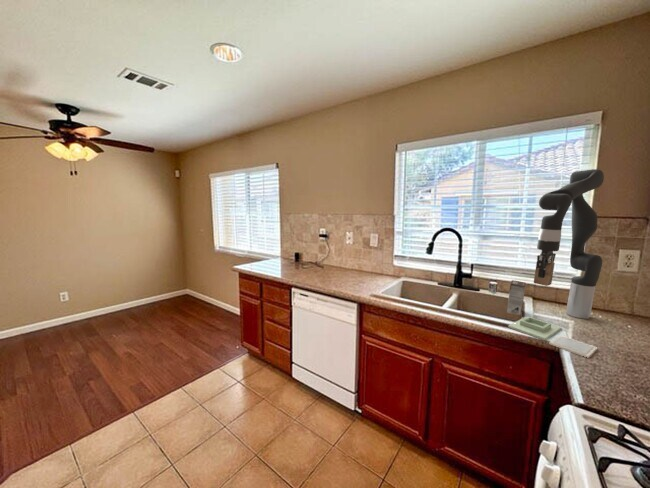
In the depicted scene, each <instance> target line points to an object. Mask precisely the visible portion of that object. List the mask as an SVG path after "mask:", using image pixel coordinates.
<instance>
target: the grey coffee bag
mask: <svg viewBox="0 0 650 488" xmlns="http://www.w3.org/2000/svg"><path fill="white" fill-rule="evenodd" d="M509 285H510V286H509V294H508V300H507V307H506V308H507V309H506V313H508V314H512V315H516V316H522V312H523V305H524V298H525V293H526V282H523V281H521V280H520V281H519V280H513V279H511V282H510V284H509Z"/></svg>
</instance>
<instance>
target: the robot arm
mask: <svg viewBox="0 0 650 488" xmlns="http://www.w3.org/2000/svg"><path fill="white" fill-rule="evenodd" d="M604 179H605V175H604V172H603V171H602V170H601V169H599V168H598V169H597V168H595V169H594V168H593V169H586V170H585V169H584V170H577V171H572V173H571V175H570V177H569V183H568V184H566V185H564V186H562V187H560V188H559V189H557V190H552V191H550V192H549V191H548V192H547V193H545V194H543V195H542V196H540V199H539V201H538V204H539V207H540V208H541V209H542V210H544V211H555V213H554V214H551V215H550V214H549V215H544V216H543V217H542V219H541V225H540V229H539V233H538V239H537V246H536V247H537V248H536V249H537V250H540V254H538V255H537V256H536V257H537V258H536V259H537V260H536V263H537V268H538V269H539V272H538V277H541V278H544V277H545V271H546V266H547V265H548V264H549V262H553V263H555V259H556V254H557V253H554V252H558V251H559V250H560V247H561V246H560V245H561V239H562V228H563V222H564V219H565V216H566V215H567V213H568V210H569V208H570V207H571V247H570V256H569V257H570V258H569V262H570V266H571V268H573V269H574V270H576V271H583V272H584V274H583V275H578V276H577V275H576V276H573V277H571V280H570V281H571V282H570V286H569V287H570V288H569V292H568V299H567V304H566V311H565V314H566V315H568V316H571V317H573V318H577V319H582V320H584V319H585V320H587V319H590V318H591V313H592V309H593V308H592V307H593V302H594V297H595V292H596V286H597V284H598V281H599V278H600V275H601V270H602V266H603V258H602V257H601V256H600V255H598V254H594V253H587V252H586V251H585V246H586V244H587V242H588V240H589V239H590V238H591V237H593V235H594V234H595V232H596V231H597V230H598V214H597V212H596V211H595V209H593V207H591V206H590V204H589V203H588V202H587V201H586V199H585V197H584V195H583V194H585V193H588V192H590V191H593V190H596V189H598V188H600V187H601V186H602V185H603V183H604ZM545 262H546V263H545ZM541 264H542V266H541Z"/></svg>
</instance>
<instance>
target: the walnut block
mask: <svg viewBox="0 0 650 488" xmlns="http://www.w3.org/2000/svg"><path fill="white" fill-rule="evenodd" d="M545 263H546V262H545ZM541 266H542V264H541ZM554 269H555V262H554V263H553V262H549V264H548V265H547V266H546V271H545V277H544V278H541V277H538V272H539V269H538V268H537V262H536V263H535V270H534V279H533V284H535V285H541V286H545V287H548V286H551V285H552V283H553V277H554V276H553V275H554Z"/></svg>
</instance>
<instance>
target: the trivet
mask: <svg viewBox="0 0 650 488" xmlns="http://www.w3.org/2000/svg"><path fill="white" fill-rule="evenodd" d="M548 344H549V345H550V346H554V347H557V348H559V349H562V350H565V351H567V352H570V353H572V354H575V355H578V356H581V357H583V356H584V357H585V358H586V357H587V359H589V358H591V356H593V354H594V353H595V352H597V350H598V347H597V346H595V345H591V344H589V343H586V342H584V341H583V342H582V341H580V340H576V339H573V338H570V337H568V336H565V335H563V334H562V335H561V334H559V335H557V336H555V338H553V339H551V340H550V341H549V343H548Z"/></svg>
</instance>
